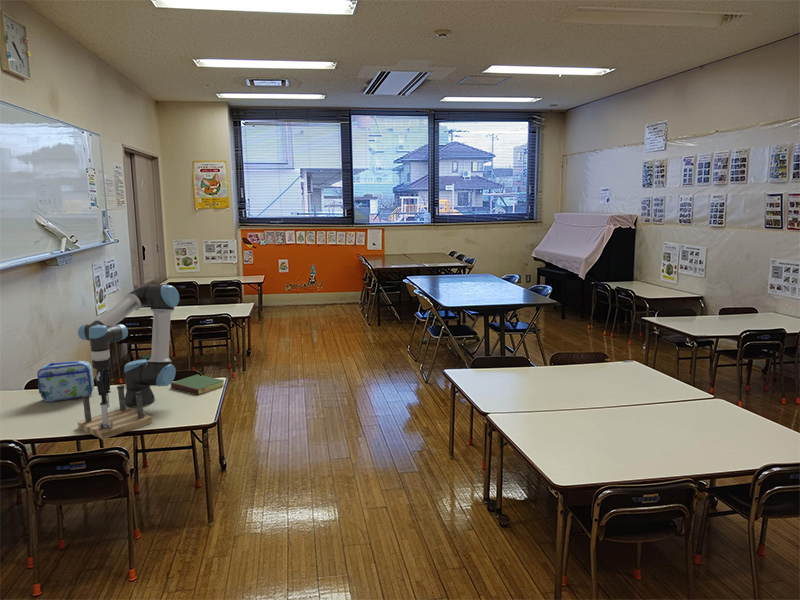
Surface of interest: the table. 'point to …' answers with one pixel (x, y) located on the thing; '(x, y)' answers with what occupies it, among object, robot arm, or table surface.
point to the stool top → (115, 417)
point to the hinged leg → (104, 415)
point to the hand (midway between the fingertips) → (106, 407)
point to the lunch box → (65, 380)
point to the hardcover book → (197, 384)
